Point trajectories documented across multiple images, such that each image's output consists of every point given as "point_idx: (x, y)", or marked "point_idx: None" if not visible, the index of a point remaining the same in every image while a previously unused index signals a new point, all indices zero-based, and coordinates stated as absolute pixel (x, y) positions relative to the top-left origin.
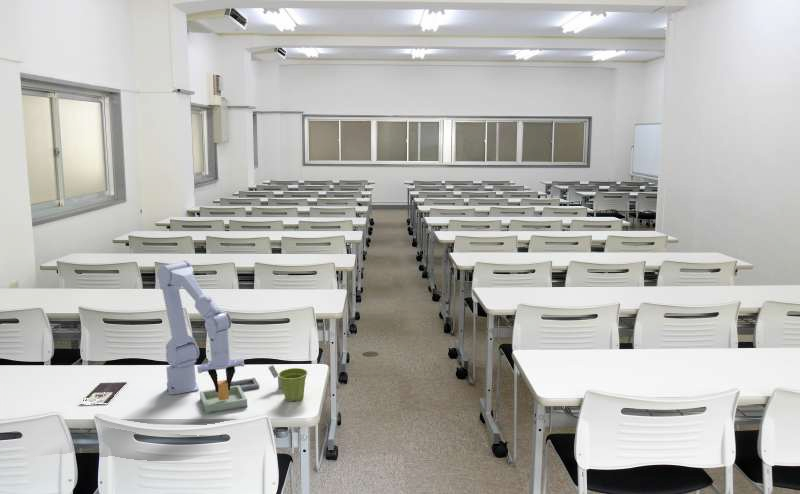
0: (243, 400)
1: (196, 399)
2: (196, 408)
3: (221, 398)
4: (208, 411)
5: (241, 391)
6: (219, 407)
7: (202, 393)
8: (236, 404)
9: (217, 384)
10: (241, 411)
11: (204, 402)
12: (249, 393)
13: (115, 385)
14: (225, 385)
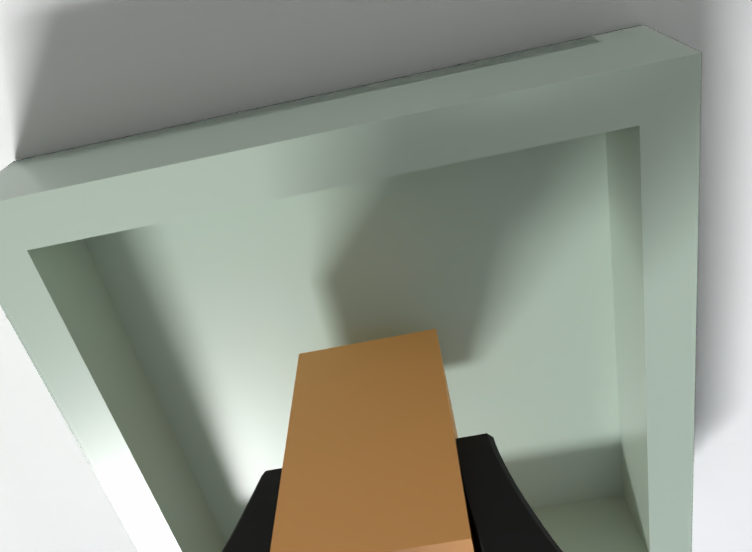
0: (11, 193)
1: (695, 496)
2: (740, 264)
3: (403, 350)
4: (609, 41)
5: (124, 493)
6: (429, 91)
7: (666, 526)
8: (147, 149)
9: (487, 544)
10: (67, 2)
11: (686, 232)
12: (95, 529)
13: None
14: (319, 525)
